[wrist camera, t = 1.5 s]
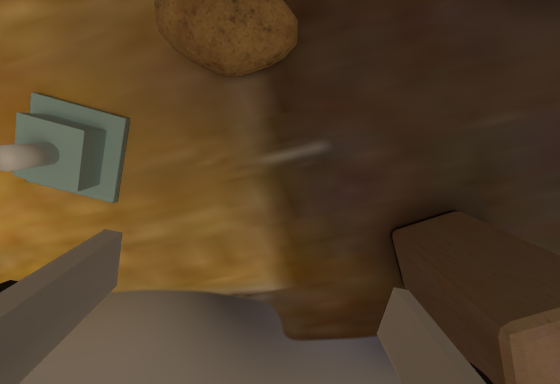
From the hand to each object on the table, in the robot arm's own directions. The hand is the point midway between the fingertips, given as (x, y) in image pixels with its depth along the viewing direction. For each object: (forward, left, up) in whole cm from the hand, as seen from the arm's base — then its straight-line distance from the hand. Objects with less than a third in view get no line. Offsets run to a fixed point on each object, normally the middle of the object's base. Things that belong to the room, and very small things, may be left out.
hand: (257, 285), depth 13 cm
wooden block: (+3, +25, -24) cm, 35 cm away
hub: (+2, -24, -24) cm, 34 cm away
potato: (-16, -8, -24) cm, 30 cm away
